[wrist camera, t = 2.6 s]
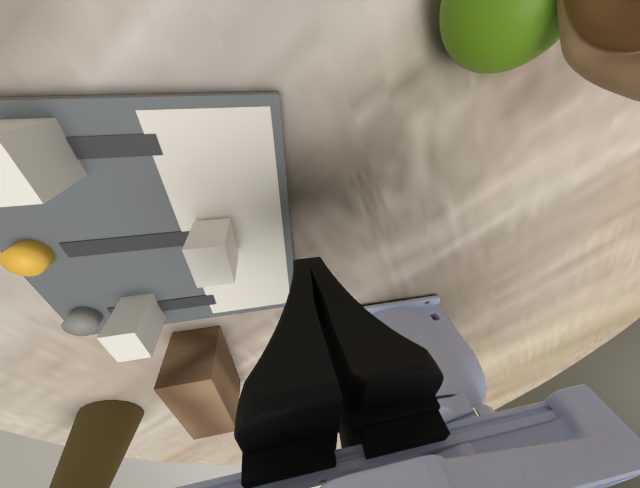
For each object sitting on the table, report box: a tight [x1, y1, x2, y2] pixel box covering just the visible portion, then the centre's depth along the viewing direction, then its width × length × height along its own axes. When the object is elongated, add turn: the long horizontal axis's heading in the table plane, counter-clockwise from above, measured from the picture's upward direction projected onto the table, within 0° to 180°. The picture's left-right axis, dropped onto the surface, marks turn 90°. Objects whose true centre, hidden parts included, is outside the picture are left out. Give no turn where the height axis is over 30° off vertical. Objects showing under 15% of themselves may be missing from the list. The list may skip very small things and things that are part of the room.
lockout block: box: [154, 326, 240, 439], centre depth 24 cm, size 4×10×5 cm, turn 0°
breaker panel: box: [0, 91, 293, 362], centre depth 15 cm, size 16×15×5 cm
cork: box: [49, 400, 144, 488], centre depth 23 cm, size 6×6×11 cm
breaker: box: [182, 218, 238, 288], centre depth 14 cm, size 2×3×3 cm
